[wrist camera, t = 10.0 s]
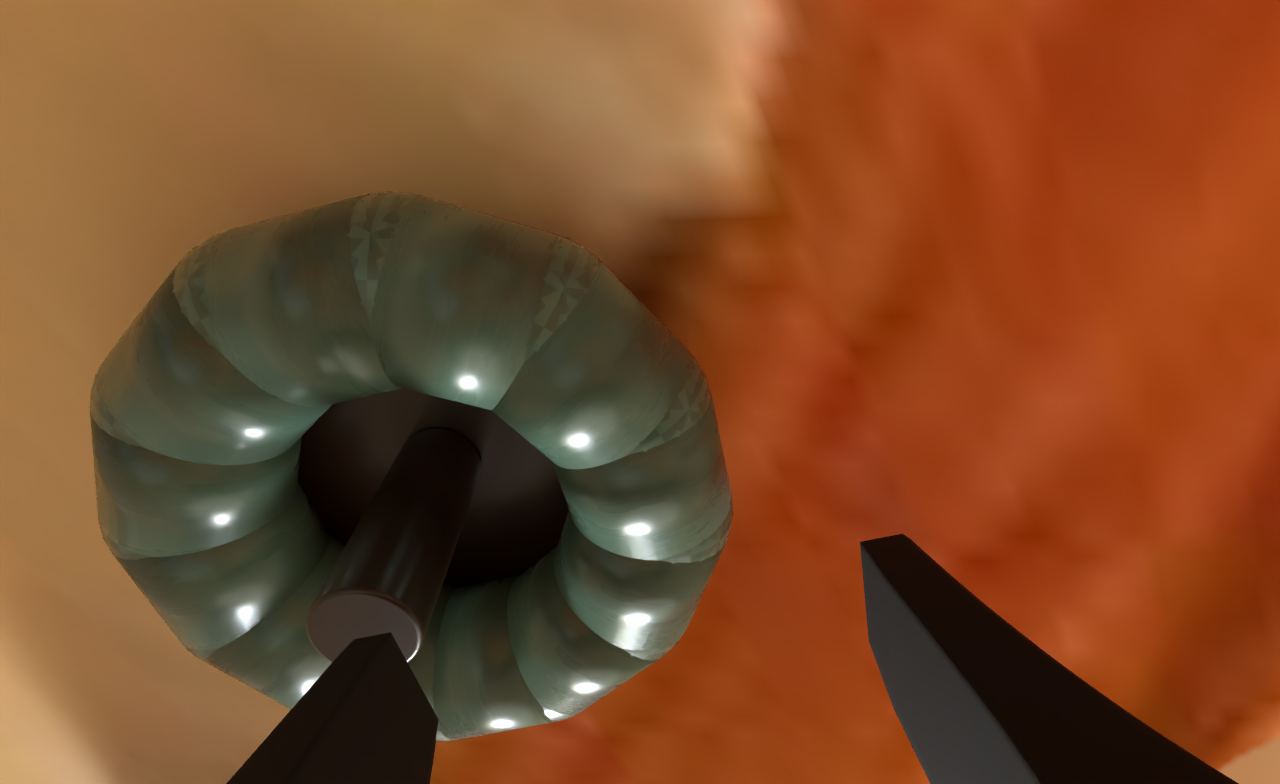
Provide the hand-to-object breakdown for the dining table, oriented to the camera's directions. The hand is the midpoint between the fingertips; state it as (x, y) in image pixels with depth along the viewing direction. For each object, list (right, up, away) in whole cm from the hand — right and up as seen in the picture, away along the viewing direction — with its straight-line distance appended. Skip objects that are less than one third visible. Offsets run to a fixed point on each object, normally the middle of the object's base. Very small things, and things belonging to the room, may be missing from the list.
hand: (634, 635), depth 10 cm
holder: (-5, +2, +7) cm, 9 cm away
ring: (-5, +1, +5) cm, 7 cm away
